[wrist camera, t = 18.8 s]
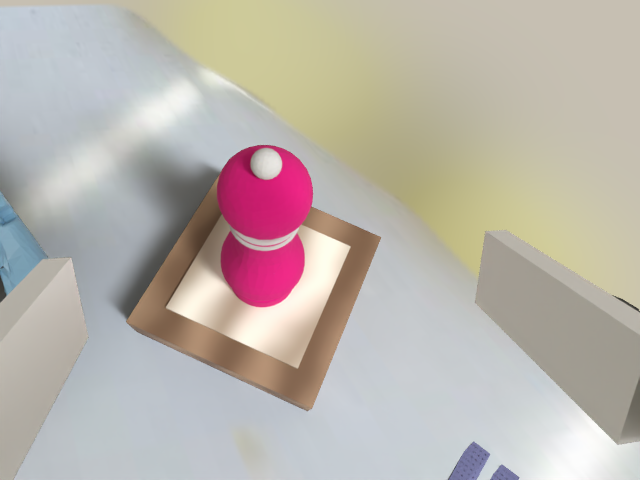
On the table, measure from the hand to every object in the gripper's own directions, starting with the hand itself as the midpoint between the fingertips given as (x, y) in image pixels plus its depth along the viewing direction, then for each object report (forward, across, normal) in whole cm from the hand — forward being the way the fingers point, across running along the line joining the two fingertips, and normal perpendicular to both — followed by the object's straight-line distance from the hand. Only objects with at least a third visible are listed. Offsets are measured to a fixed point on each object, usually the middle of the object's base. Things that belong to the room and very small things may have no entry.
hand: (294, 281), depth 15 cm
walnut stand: (+29, 0, -15) cm, 33 cm away
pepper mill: (+26, 0, -12) cm, 29 cm away
